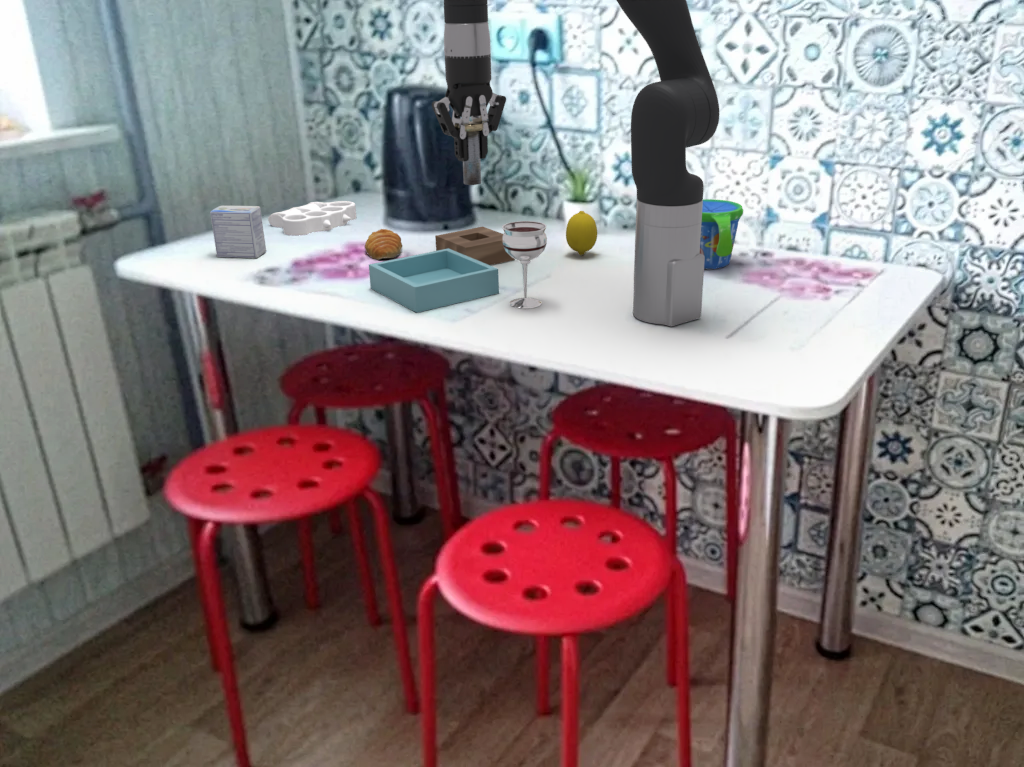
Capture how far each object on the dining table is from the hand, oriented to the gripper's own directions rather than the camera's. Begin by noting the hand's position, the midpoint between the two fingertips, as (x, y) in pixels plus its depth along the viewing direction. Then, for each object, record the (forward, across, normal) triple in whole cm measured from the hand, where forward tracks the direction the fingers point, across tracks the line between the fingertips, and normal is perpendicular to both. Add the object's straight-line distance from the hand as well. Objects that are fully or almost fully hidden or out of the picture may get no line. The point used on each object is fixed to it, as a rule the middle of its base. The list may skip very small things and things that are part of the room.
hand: (471, 158), depth 164 cm
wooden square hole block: (+18, 0, 0) cm, 18 cm away
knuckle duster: (+18, -12, +42) cm, 47 cm away
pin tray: (+18, -15, -11) cm, 26 cm away
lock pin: (+4, 0, 0) cm, 4 cm away
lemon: (+18, +16, -10) cm, 26 cm away
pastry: (+18, -11, +14) cm, 25 cm away
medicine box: (+18, -32, +29) cm, 47 cm away
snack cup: (+18, +29, -28) cm, 44 cm away
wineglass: (+18, -7, -25) cm, 31 cm away
